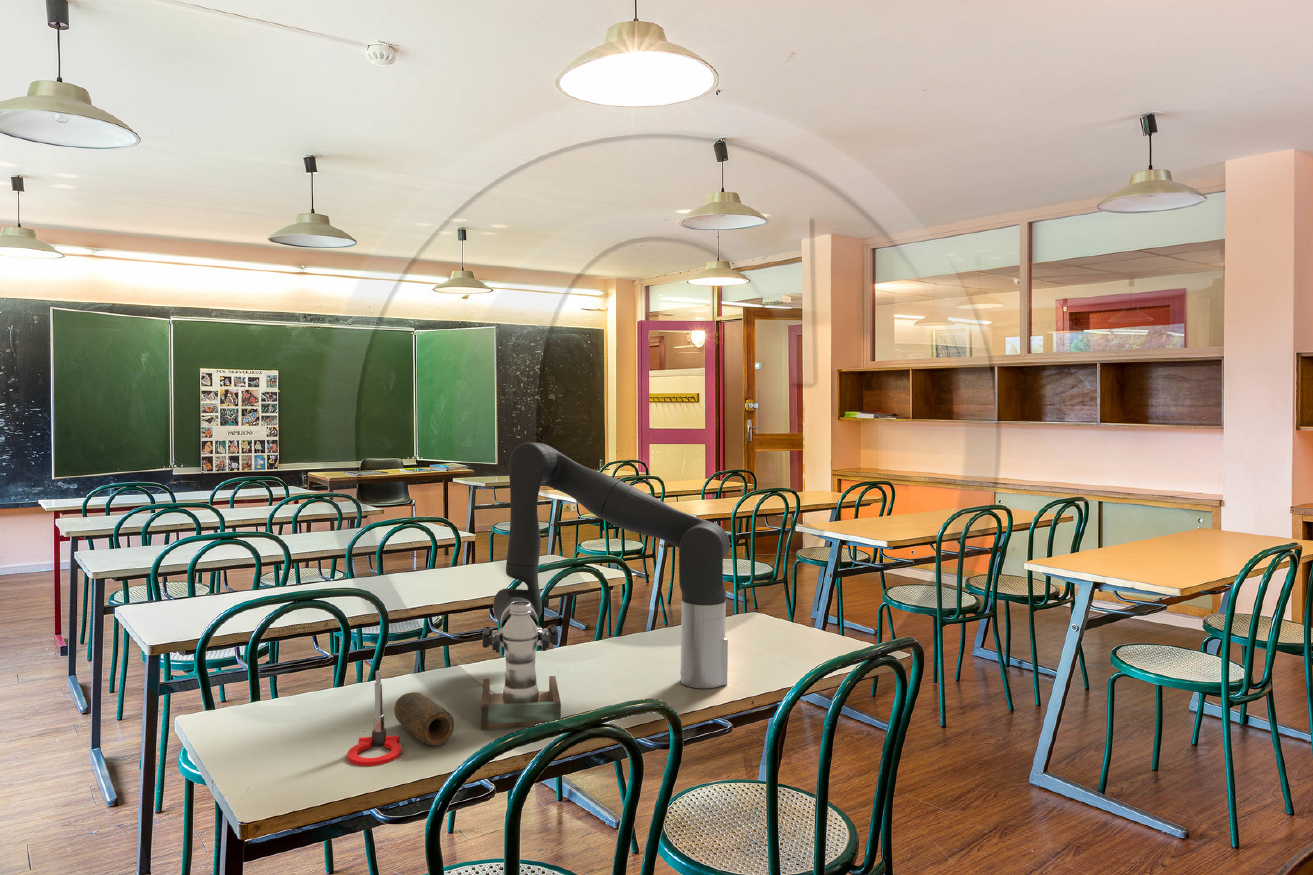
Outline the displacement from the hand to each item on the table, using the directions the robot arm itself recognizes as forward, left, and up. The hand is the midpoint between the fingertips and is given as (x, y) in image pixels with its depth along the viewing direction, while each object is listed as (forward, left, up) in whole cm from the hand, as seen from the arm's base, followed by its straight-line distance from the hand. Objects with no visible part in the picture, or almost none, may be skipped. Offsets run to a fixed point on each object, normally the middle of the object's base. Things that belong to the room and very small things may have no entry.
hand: (521, 646), depth 157 cm
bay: (0, -4, -14) cm, 14 cm away
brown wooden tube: (+17, +5, -14) cm, 22 cm away
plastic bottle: (0, -2, -13) cm, 13 cm away
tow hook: (+24, +12, -14) cm, 30 cm away
